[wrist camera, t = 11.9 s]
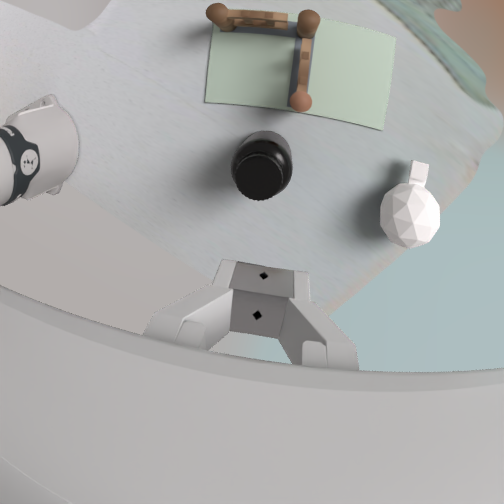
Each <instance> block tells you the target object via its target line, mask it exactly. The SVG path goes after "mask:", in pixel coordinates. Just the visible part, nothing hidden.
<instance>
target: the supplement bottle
mask: <svg viewBox="0 0 504 504" xmlns="http://www.w3.org/2000/svg"><path fill="white" fill-rule="evenodd" d="M292 170H293V166H292V156H291V150H290V147H289V145H288V143H287V141H286V140H285V139H284V138H283V137H282V136H281V135H279V134H277V133H275V132H272V131H259V132H256V133H254V134H252V135H250V136H249V137H248V138H247V139H246V140H245V141H244V142H243V143H242V145H241V146H240V147H239V148H238V149H237V151H236V152H235V154H234V156H233V158H232V162H231V174H232V177H233V180H234V182H235V183H236V185H237V187H238V189H239V191H241V193H242V194H243V195H245V197H248V198H249V199H253V200H258V201H260V200H265V199H269V198H272V197H273V196H274V195H277V194H278V193H280V192H281V191H283V190H284V189H285V188H286V186H287V185H288V183H289V182H290V179H291V176H292Z"/></svg>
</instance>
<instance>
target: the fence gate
mask: <svg viewBox="0 0 504 504" xmlns="http://www.w3.org/2000/svg"><path fill="white" fill-rule="evenodd" d="M311 43H312V39H306V38H302V44H301V50H300V60H299V71H298V80H297V90H296V92H295V93H294V94H292V96H291V97H290V105H291V107H292V108H293V109H294V110H295V111H297V112H306V111H308V110H309V109H310V108H311V106H312V99H311V97H310V95H309V94H308V93H306V92H307V83H308V73H309V64H310V53H311Z"/></svg>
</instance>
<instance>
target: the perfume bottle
mask: <svg viewBox="0 0 504 504" xmlns="http://www.w3.org/2000/svg"><path fill="white" fill-rule="evenodd" d="M428 169H429V165H428V164H425V163H421V162H418V161H414V160H411V165H410V171H409V179H408V183H399V184H398V185H396V186H395V187H394V188H392V189H391V190H390V191H388V192H387V193H385V195H384V198H383V200H382V203H381V206H380V226H381V227H382V229H383V230H384V232H385V233H386V235H387V237H388V238H389V240H390V241H391V242H393V243H395V244H398V245H400V246H402V247H406V248H413V247H417V246H420V245H423V244H426V243H428V242H429V241H430V240H431V238H432V237H433V236H434V234H435V233H436V231H437V230H438V228H439V227H440V212H439V205H438V203H437V202H436V200H435V199H434V197H433V196H432V194H431V193H430V192H429V191H428V190H426V189H425V188H424V187H425V182H426V180H427V175H428Z"/></svg>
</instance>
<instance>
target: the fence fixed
mask: <svg viewBox="0 0 504 504" xmlns="http://www.w3.org/2000/svg"><path fill="white" fill-rule="evenodd" d="M206 16H207V18H208V19H210V20H211V21H212V22H213V23H214V24H215V25H216V26H218V27H219V28H220V29H221V30H222V31H224V32H231V31H233V30H235V29H236V27H237V26H242V27H258V28H270V29H280V30H288V22H287V21H288V13H280V12H269V11H256V10H229V9H227V7H226V6H225V5H223V4H221V3H215V4H212V5H210V6H209V7H208V8H207V10H206ZM319 24H320V16H319V15H318V14H317V13H316V12H315V11H312V10H304V11H302V12H300V13H299V15H298V21H297V34H298V36H299V37H300V38H306V39H311V38H313V37H314V36H315V33H316V31H317V28H318V26H319Z"/></svg>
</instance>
